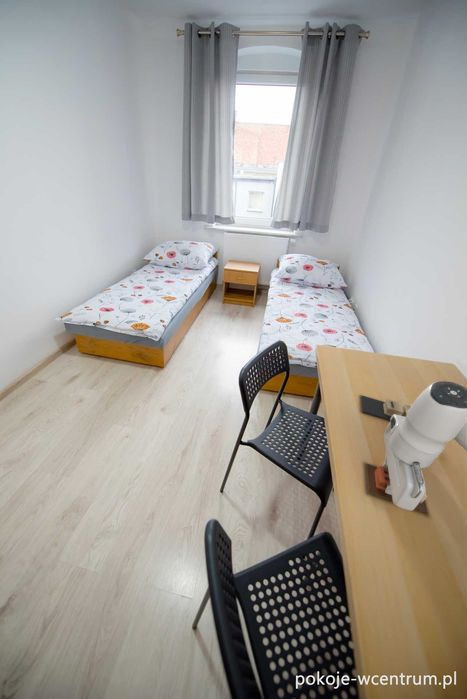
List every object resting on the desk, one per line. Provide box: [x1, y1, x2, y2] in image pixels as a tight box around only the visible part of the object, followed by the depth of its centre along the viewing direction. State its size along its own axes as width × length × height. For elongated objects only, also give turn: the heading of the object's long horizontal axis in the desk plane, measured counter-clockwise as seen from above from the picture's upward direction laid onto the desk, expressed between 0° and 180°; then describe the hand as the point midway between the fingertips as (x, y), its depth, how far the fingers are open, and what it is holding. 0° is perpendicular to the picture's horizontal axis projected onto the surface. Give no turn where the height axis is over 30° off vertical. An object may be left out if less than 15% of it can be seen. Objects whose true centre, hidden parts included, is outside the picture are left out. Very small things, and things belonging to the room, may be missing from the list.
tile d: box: [383, 398, 403, 416], centre depth 89 cm, size 4×4×3 cm
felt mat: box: [360, 395, 392, 422], centre depth 90 cm, size 17×8×1 cm, turn 72°
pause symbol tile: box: [375, 465, 390, 490], centre depth 68 cm, size 4×4×3 cm
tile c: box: [402, 403, 411, 417], centre depth 88 cm, size 4×4×3 cm
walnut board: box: [365, 463, 429, 514], centre depth 68 cm, size 13×8×1 cm, turn 72°
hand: (386, 480), depth 68 cm, fingers closed on pause symbol tile, 4 cm apart
